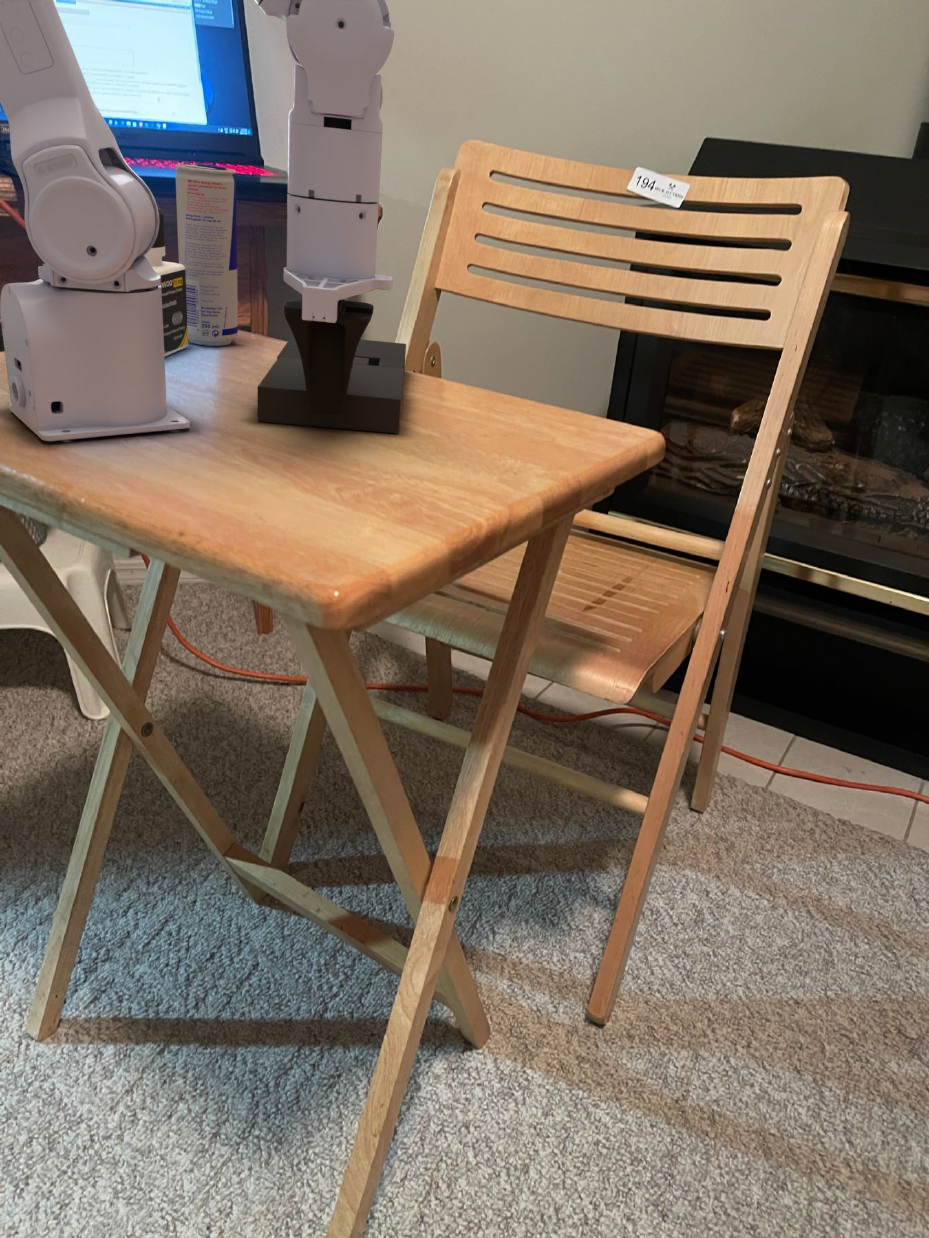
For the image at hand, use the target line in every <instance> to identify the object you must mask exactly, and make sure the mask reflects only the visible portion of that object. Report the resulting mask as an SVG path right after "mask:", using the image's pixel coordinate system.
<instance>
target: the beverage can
mask: <svg viewBox="0 0 929 1238" xmlns="http://www.w3.org/2000/svg"><path fill="white" fill-rule="evenodd" d="M175 168H176V169H177V170H176V173H175V196H176V198H175V199H176V201H175V202H176V219H177V220H176V223H177V224H176V227H177V248H178V252H177V253H178V264H182V265H183V266H184V267H185V272H186V300H187V328H188V342H189V343H192V344H195V345H201V346H209V347H210V346H211V347H219V346H222V347H223V346H227V345H231V343H232V340H234V339H236V338H237V337H238V334H239V313H238V311H239V308H238V307H239V306H238V305H239V303H238V301H239V300H238V231H237V230H238V228H237V226H238V225H237V224H238V223H237V222H238V221H237V219H238V218H237V217H238V215H237V181H236V177H235V174H236V173H237V171H236V170H235V169H230V168H227V167H225V166H219V165H210V164H203V163H199V164H196V165H194V164H193V165H192V164H175Z"/></svg>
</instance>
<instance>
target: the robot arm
mask: <svg viewBox="0 0 929 1238" xmlns="http://www.w3.org/2000/svg"><path fill="white" fill-rule="evenodd" d="M254 2H255V4H257V5H258V6H259V8H260V10H261V11H262V12H263V13H264V15H266V16H269V17H271V16H272V17H275V18H278V19H280V20H281V21H283V22H284V23H285V26H286V27H285V28H286V38H287V39H286V40H287V44H288V48H289V51H290V53H291V57H292V58H293V60H294V61H295V62H296V63H297V64H294V66H293V67H294V68H293V104H292V105H293V106H292V108H291V109H289V111H288V117H287V118H288V121H287V122H288V123H287V124H288V125H287V127H288V129H287V140H288V141H287V195H286V197H287V202H286V206H287V207H286V212H287V213H286V214H287V218H286V221H287V222H286V266H285V267H283V282H284V283H286V284H287V285H288V286H289V287H290V288H292V289H293V290H295V291H296V292H298V294H300V295H301V297H302V298H301V300H300V299H299V300H297V299H295V300H291V301H287V302H286V303H285V304H284V305H283V314H284V318H285V320H286V323H287V326H289V328H290V331H291V333H292V335H294V338H295V340H296V343H297V346H298V349H299V353H300V357H301V361H302V366H303V372H304V378H305V384H306V390H307V396H308V401H309V405H310V408H311V412H316V413H328V414H341V412H342V409H343V406H344V403H345V399H346V396H347V391H348V386H349V381H350V376H351V371H352V366H353V361H354V357H355V353H356V350H357V346H358V344H359V341H360V339H361V340H362V337H363V335H364V333H365V331H366V329H367V327H368V326H369V324H370V322H371V320H372V317H373V314H374V305H373V304H372V303H368V302H362V301H354V300H353V301H351V300H348V299H349V298H352V297H355V296H359V295H363V294H368V293H370V292H374V291H376V290H378V291H379V290H380V291H391V290H392V289H393V281H394V280H393V279H394V278H393V276H392V275H383V274H377V273H376V260H377V245H378V244H377V243H378V225H379V224H378V222H379V204H380V203H379V202H380V190H381V189H380V187H381V168H382V150H383V131H384V125H383V120H382V119H381V114H380V113H381V109H382V107H383V103H384V89H383V84H382V75H381V74H378V73H379V72H380V71H381V69H382V68H383V67H384V65H385V64H386V62H387V60H388V59H389V56H390V54H391V51H392V48H393V44H394V38H395V31H394V29H393V28H392V24H391V21H390V12H389V8H388V5H387V3H386V0H254ZM0 104H1V107H2V110H3V111H4V114H5V117H6V119H7V122H8V128H9V142H10V154H11V160H12V161H11V162H12V163H13V166H14V168H15V170H16V172H17V175H18V176H19V177H18V178H19V179H20V182H21V185H22V189H23V195H24V225H25V230H26V231H25V232H26V234H27V238H28V240H29V242H30V244H31V246H32V248H33V250H34V252H35V253H36V255H37V256H38V257H39V258H40V260H41V261H42V262H43V264H42V266H41V265H39V266H38V268H37V271H38V278H39V279H37V280H33V281H29V282H10V283H7V284H5V285H3V287H2V288H1V293H0V323H1V333H2V341H3V347H4V348H3V349H4V355H5V364H6V372H7V381H8V390H9V397H10V402H9V403H8V409H9V411H11V412H12V414H14V415H15V416H16V417H17V418H18V419H19V420H20V421H22V423H23V424H24V425H25V426H26V427H28V428H29V429H30V430H31V431H32V432H33V433H34V434H35V435H36V436H37V437H38V438H39V439H40V440H42V441H44V442H57V441H68V440H69V441H70V440H78V439H79V440H80V439H90V438H100V437H109V436H111V437H112V436H119V435H120V436H121V435H132V434H141V433H152V432H162V431H173V430H184V429H185V430H186V429H189V428H190V427H191V421H190V420H189V419H187V418H186V417H184V416H183V415H182V414H180V413H178V412H177V411H175V410H174V409H172V408H170V407H169V406H168V403H167V402H168V401H167V383H166V361H165V360H166V359H165V357H164V336H163V314H162V292H161V286H160V284H161V276H160V275H159V274H158V273H156V272H155V271H154V269H153V268H152V267H151V265H150V263H149V261H148V259H147V258H146V257H145V256H144V255H145V254H146V253H147V252H148V251H149V250H150V249H151V247H152V246H153V244H154V242H155V240H156V238H157V234H158V231H159V212H158V208H159V207H158V204H157V201H156V199H155V196H154V194H153V192H152V190H151V189H150V187H149V186H148V185H147V184H146V182H145V181H144V180H143V179H142V177H140V176H139V175H138V174H137V173H136V171H134V170H133V169H132V168H131V167H130V165H129V164H128V163H127V161H126V160H125V158H124V156H123V154H122V152H121V150H120V147H119V145H118V142H117V139H116V137H115V135H114V133H113V132H112V130H111V128H110V127H109V125H108V123H107V121H106V120H105V118H104V117H103V115H102V113H101V112H100V110H99V108H98V107H97V105H96V103H95V101H94V99H93V96H92V94H91V91H90V89H89V87H88V84H87V82H86V79H85V77H84V74H83V72H82V69H81V66H80V64H79V61H78V59H77V56H76V55H75V51H74V49H73V46H72V44H71V42H70V38H69V36H68V34H67V32H66V29H65V26H64V24H63V22H62V19H61V16H60V14H59V11H58V9H57V6H56V4H55V1H54V0H0Z"/></svg>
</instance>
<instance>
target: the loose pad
mask: <svg viewBox="0 0 929 1238" xmlns="http://www.w3.org/2000/svg"><path fill="white" fill-rule="evenodd" d="M405 375H406V369H404V368H394V367H383V366H372V365H369V358H360V357H354V361H353V366H352V371H351V376H350V381H349V386H348V391H347V396H346V399H345V403H344V406H343V409H342V412H341V414H328V413H316V412H311V408H310V405H309V401H308V396H307V390H306V384H305V378H304V372H303V366H302V361H301V359H298V358H287V357H279V358H278V359H277V358H276V360H275V361H274V363H273V365H271V367H270V369H269V370H268V372H266V374H265V375H264V377H263V379H262V380H261V381H260V383H258V386H257V422H260V423H261V422H262V423H272V424H273V423H274V424H283V425H284V424H285V425H294V426H295V425H296V426H307V427H317V428H330V429H341V430H352V431H363V432H375V433H385V434H386V433H387V434H399V433H400V425H401V418H402V411H403V410H402V408H403V402H404V389H405Z"/></svg>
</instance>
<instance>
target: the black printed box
mask: <svg viewBox="0 0 929 1238" xmlns="http://www.w3.org/2000/svg"><path fill="white" fill-rule="evenodd" d="M158 212H159V231H158V234H157V238H156V240H155V242H154V244H153V246H152V247H151V249H150V250H149V251H148V252H147V253H146V254H145V255H144V256H145V257H146V258H147V259H148V261H149V263H150V265H151V267H152V268H153V269H154V271H155V272H156V273H158V274H159V275H160V276H161V284H160V286H161V292H162V314H163V336H164V358H165V357H168V356H169V355H172V354H174V353H177V352H179V351H181V350H184V349H187V347H189V338H188V328H187V300H186V272H185V267H184V266H183V265H182V264H179V262H178V263H177V262H171V261H164V260H163V257H165V256H166V238H165V237H166V235H165V217H164V216H165V215H164V214H165V213H164V212H163V210H162V209H161V208H160V207H158Z"/></svg>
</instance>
